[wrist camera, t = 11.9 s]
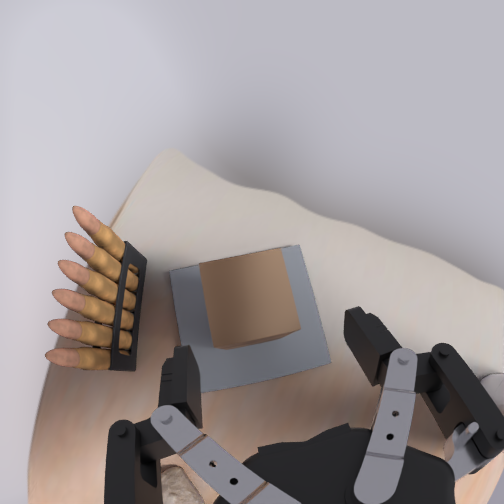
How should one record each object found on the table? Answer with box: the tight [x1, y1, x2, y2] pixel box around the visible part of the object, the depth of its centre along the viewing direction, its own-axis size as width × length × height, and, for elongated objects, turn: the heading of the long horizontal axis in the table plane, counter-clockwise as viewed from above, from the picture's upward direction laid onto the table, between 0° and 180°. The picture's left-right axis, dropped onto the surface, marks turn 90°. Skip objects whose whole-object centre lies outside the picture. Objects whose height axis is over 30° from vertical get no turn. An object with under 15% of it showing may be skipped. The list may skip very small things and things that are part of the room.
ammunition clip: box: [45, 206, 147, 371], centre depth 18 cm, size 11×2×12 cm, turn 178°
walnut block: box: [199, 248, 301, 350], centre depth 19 cm, size 4×4×10 cm
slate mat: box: [170, 245, 331, 393], centre depth 24 cm, size 12×11×1 cm
